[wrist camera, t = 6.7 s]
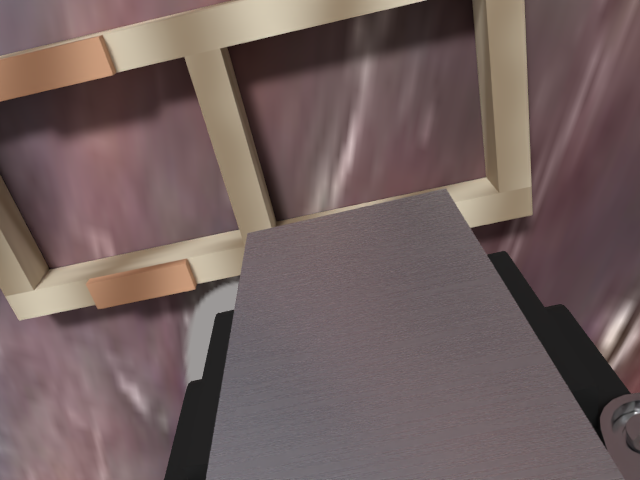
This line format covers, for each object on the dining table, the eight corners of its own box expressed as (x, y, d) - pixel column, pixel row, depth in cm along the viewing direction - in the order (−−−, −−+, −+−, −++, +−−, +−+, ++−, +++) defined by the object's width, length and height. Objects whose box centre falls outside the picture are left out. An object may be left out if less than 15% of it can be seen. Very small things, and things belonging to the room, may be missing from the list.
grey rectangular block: (445, 188, 12) (651, 523, 5) (467, 346, 14) (635, 740, 7) (247, 233, 13) (184, 605, 5) (296, 381, 15) (297, 790, 8)
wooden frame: (504, -65, 23) (526, -66, 21) (517, 198, 28) (536, 219, 26) (-87, 76, 25) (-125, 89, 22) (35, 298, 30) (14, 326, 28)
